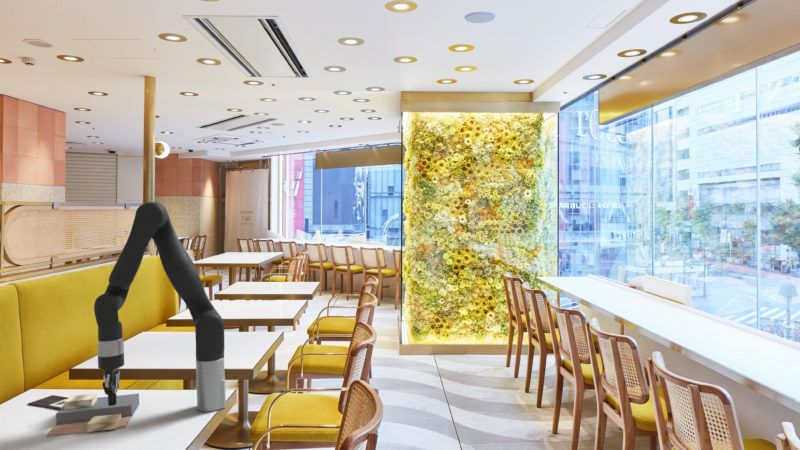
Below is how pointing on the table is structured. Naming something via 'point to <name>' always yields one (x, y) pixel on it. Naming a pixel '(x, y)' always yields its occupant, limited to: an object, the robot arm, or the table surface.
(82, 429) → the rubber mat
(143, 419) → the table surface
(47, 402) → the chocolate bar
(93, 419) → the oak tile
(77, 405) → the birch tile
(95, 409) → the slate board
